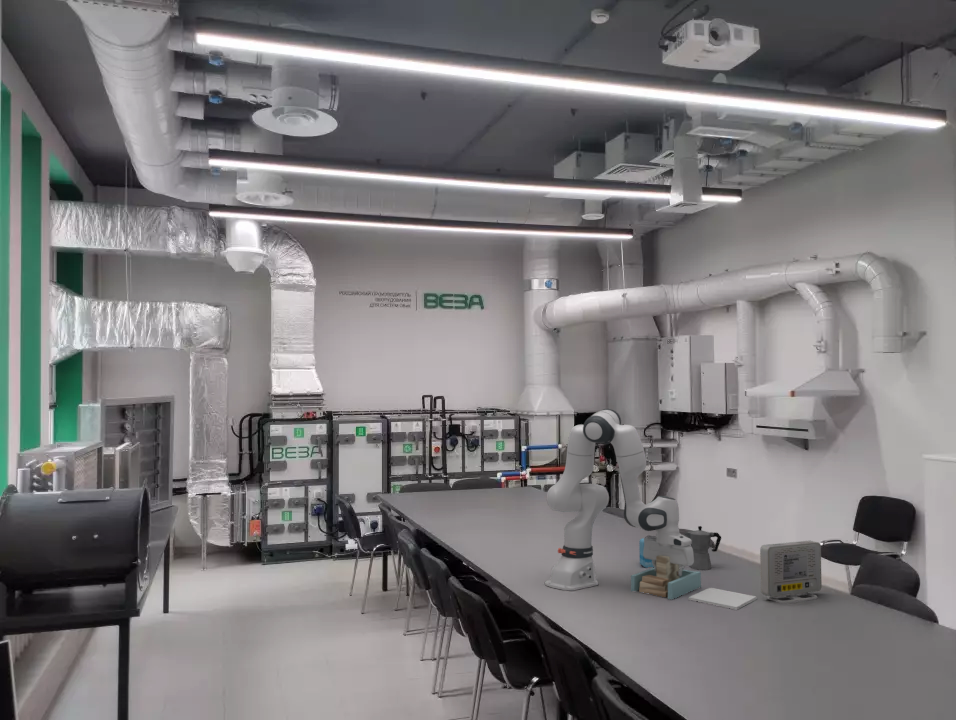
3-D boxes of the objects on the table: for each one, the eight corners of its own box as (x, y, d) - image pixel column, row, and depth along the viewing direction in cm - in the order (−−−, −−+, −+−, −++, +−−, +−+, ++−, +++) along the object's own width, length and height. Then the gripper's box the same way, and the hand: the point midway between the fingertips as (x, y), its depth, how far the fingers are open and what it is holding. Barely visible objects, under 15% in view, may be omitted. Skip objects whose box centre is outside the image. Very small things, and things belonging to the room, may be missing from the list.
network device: (809, 591, 276) (808, 539, 277) (827, 597, 268) (826, 543, 269) (756, 598, 267) (755, 544, 268) (774, 604, 259) (773, 548, 260)
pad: (736, 610, 252) (736, 607, 252) (688, 599, 264) (688, 597, 265) (756, 599, 266) (756, 596, 266) (710, 590, 278) (710, 587, 278)
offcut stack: (665, 598, 267) (665, 581, 267) (638, 592, 274) (638, 576, 275) (672, 595, 271) (671, 579, 271) (645, 589, 278) (645, 574, 278)
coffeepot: (684, 569, 311) (683, 527, 312) (685, 564, 320) (684, 523, 321) (721, 571, 307) (721, 529, 307) (721, 566, 316) (720, 525, 316)
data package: (643, 568, 313) (643, 540, 314) (639, 565, 317) (639, 538, 318) (669, 567, 315) (669, 539, 315) (665, 564, 319) (664, 537, 320)
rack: (671, 600, 264) (671, 583, 265) (631, 591, 276) (630, 575, 276) (700, 587, 282) (700, 571, 282) (661, 579, 293) (661, 564, 294)
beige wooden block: (666, 592, 275) (665, 558, 275) (656, 590, 277) (656, 556, 278) (679, 586, 283) (679, 553, 283) (670, 585, 285) (669, 551, 286)
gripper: (640, 535, 285) (640, 570, 284) (687, 542, 271) (688, 579, 270) (648, 533, 290) (648, 568, 289) (695, 540, 276) (696, 576, 275)
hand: (668, 573), depth 280 cm, fingers open, 8 cm apart
